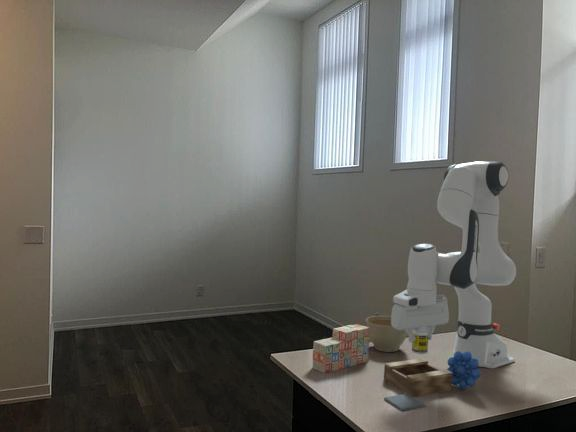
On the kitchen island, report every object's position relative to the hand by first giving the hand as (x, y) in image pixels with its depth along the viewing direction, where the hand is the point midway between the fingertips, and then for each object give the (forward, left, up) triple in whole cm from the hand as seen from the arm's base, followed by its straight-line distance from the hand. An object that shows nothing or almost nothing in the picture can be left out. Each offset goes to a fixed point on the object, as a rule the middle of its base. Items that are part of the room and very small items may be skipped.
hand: (420, 340), depth 153 cm
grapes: (-11, +8, -14) cm, 20 cm away
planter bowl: (-12, -33, -14) cm, 38 cm away
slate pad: (+13, +10, -14) cm, 21 cm away
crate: (+1, 0, -14) cm, 14 cm away
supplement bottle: (0, 0, -4) cm, 4 cm away
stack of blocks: (+13, -24, -14) cm, 31 cm away
